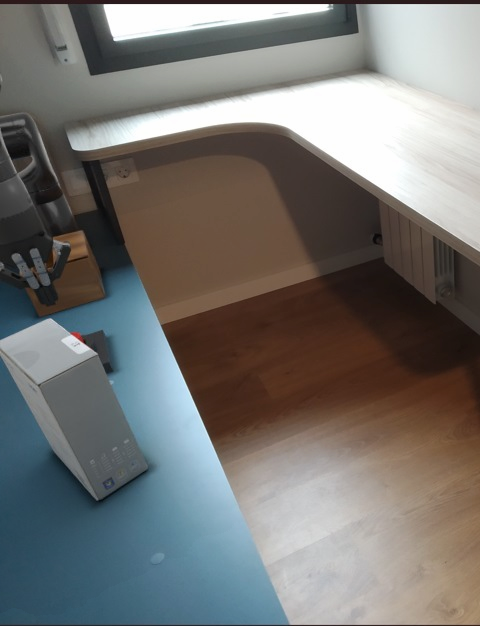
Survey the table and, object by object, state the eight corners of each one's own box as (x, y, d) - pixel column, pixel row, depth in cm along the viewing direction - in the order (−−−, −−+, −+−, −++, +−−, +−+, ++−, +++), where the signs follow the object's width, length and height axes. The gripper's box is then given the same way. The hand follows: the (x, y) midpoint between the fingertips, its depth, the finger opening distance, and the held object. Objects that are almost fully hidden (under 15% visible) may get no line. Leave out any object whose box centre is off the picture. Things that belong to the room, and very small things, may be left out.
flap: (52, 238, 134) (51, 237, 133) (83, 231, 136) (82, 230, 136) (54, 264, 122) (53, 263, 122) (88, 256, 125) (87, 254, 125)
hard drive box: (151, 468, 86) (99, 354, 76) (98, 503, 82) (35, 387, 71) (102, 423, 96) (49, 315, 85) (52, 452, 91) (-11, 342, 80)
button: (59, 346, 109) (55, 337, 107) (84, 338, 110) (79, 329, 109) (60, 357, 105) (55, 348, 104) (85, 349, 107) (81, 340, 106)
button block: (49, 357, 112) (40, 340, 110) (106, 339, 116) (99, 321, 114) (51, 393, 103) (41, 374, 101) (113, 371, 107) (105, 353, 105)
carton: (38, 287, 137) (20, 249, 132) (99, 270, 141) (84, 232, 136) (39, 317, 125) (19, 277, 120) (105, 297, 130) (89, 257, 125)
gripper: (51, 189, 99) (91, 282, 108) (-43, 211, 94) (8, 306, 104) (53, 203, 93) (95, 300, 103) (-48, 228, 88) (7, 327, 98)
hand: (51, 303), depth 103 cm, fingers closed
